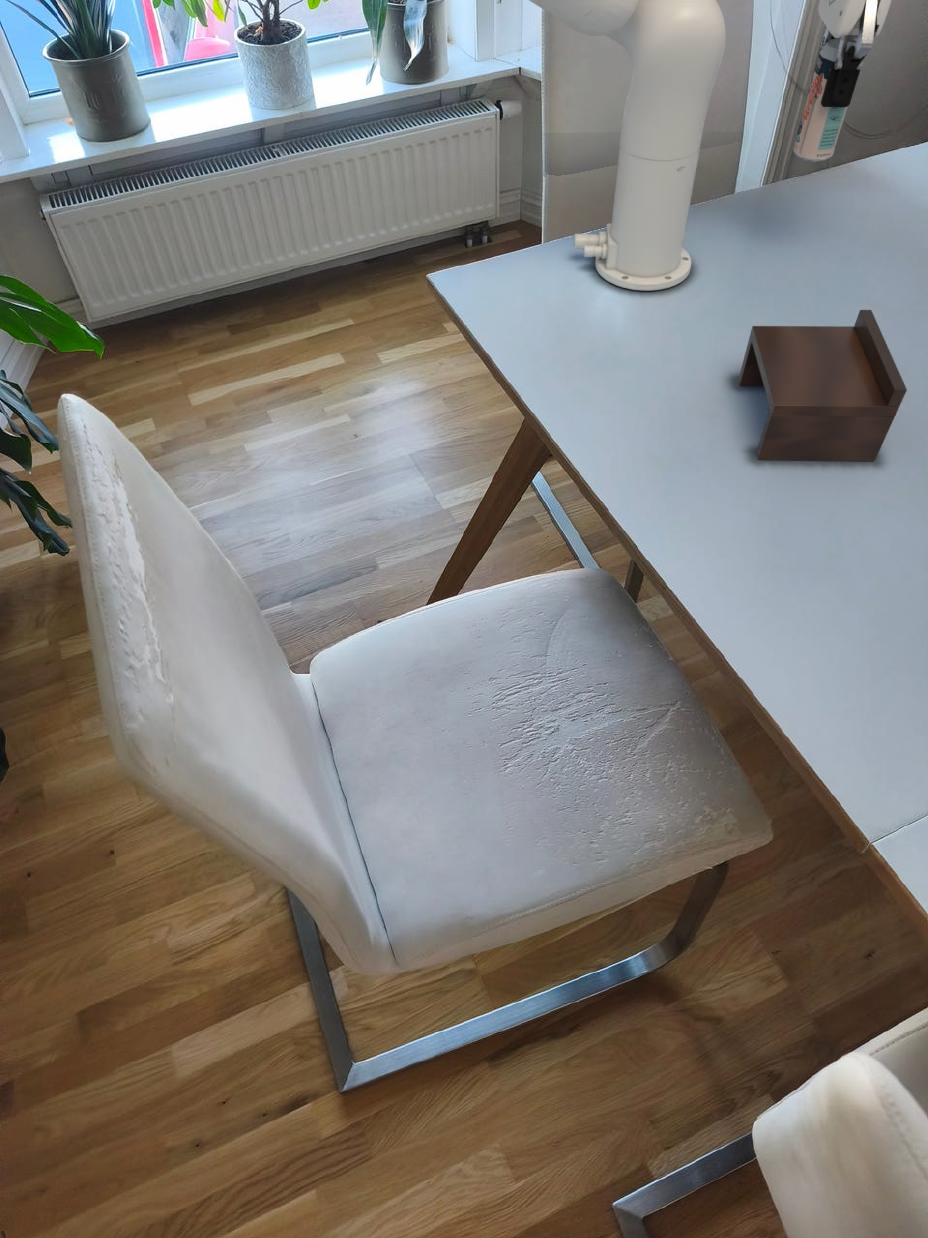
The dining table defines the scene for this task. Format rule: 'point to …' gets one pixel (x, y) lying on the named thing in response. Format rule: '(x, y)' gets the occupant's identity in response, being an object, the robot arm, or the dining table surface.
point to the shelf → (824, 390)
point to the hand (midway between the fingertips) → (829, 94)
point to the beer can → (820, 112)
